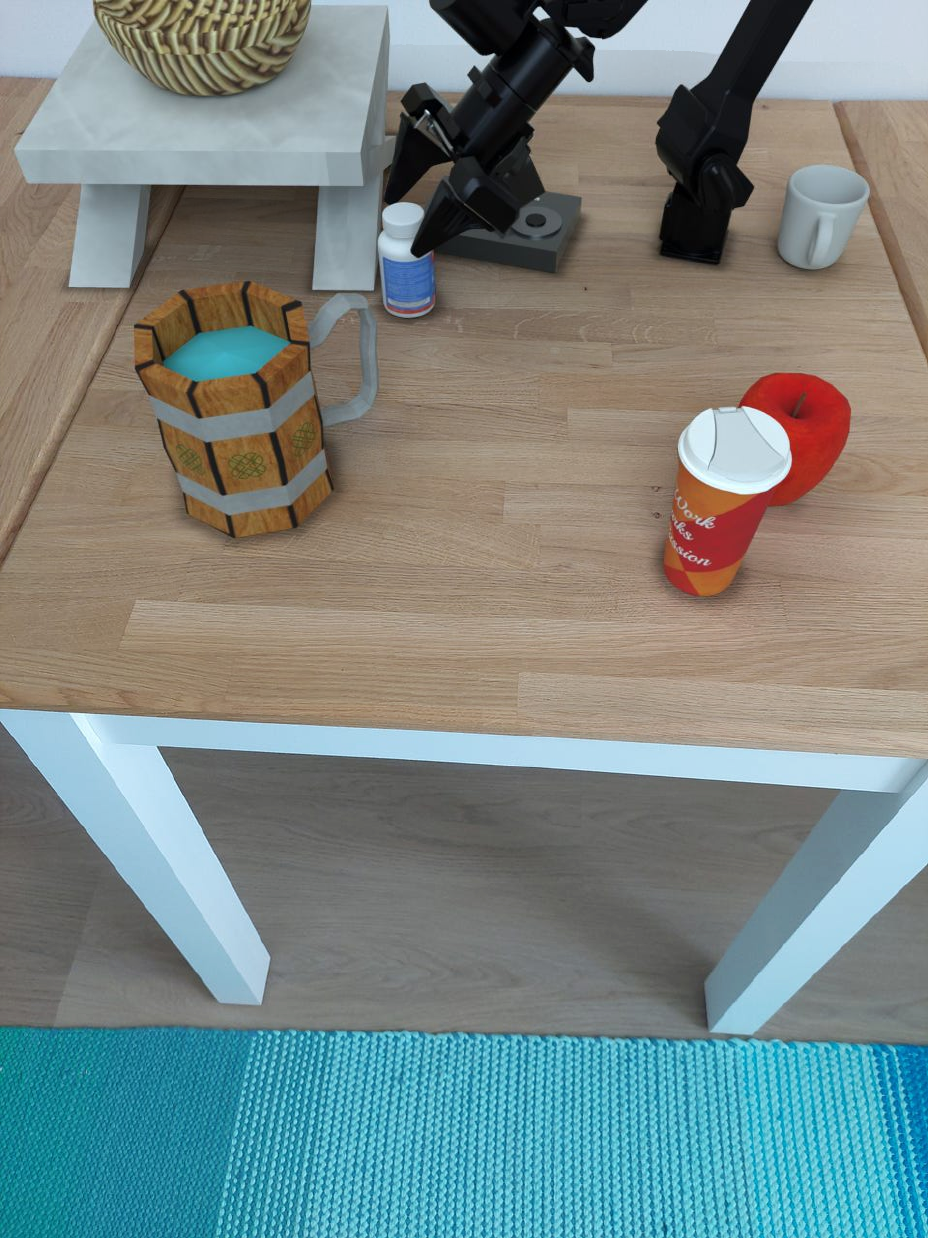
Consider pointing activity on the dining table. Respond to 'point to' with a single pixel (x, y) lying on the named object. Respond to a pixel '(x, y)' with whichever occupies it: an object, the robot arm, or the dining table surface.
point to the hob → (519, 237)
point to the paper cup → (721, 494)
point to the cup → (820, 214)
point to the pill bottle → (404, 263)
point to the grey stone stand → (219, 122)
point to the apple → (803, 426)
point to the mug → (247, 400)
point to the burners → (537, 222)
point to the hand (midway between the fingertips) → (400, 228)
